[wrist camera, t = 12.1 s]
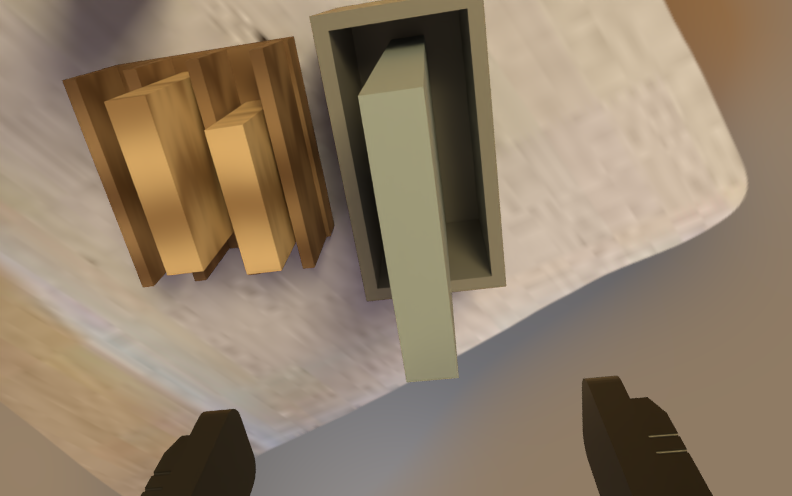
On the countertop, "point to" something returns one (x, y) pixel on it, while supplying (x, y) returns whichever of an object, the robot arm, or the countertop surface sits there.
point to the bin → (454, 123)
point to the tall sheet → (411, 206)
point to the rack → (217, 97)
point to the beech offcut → (252, 187)
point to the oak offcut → (173, 171)
